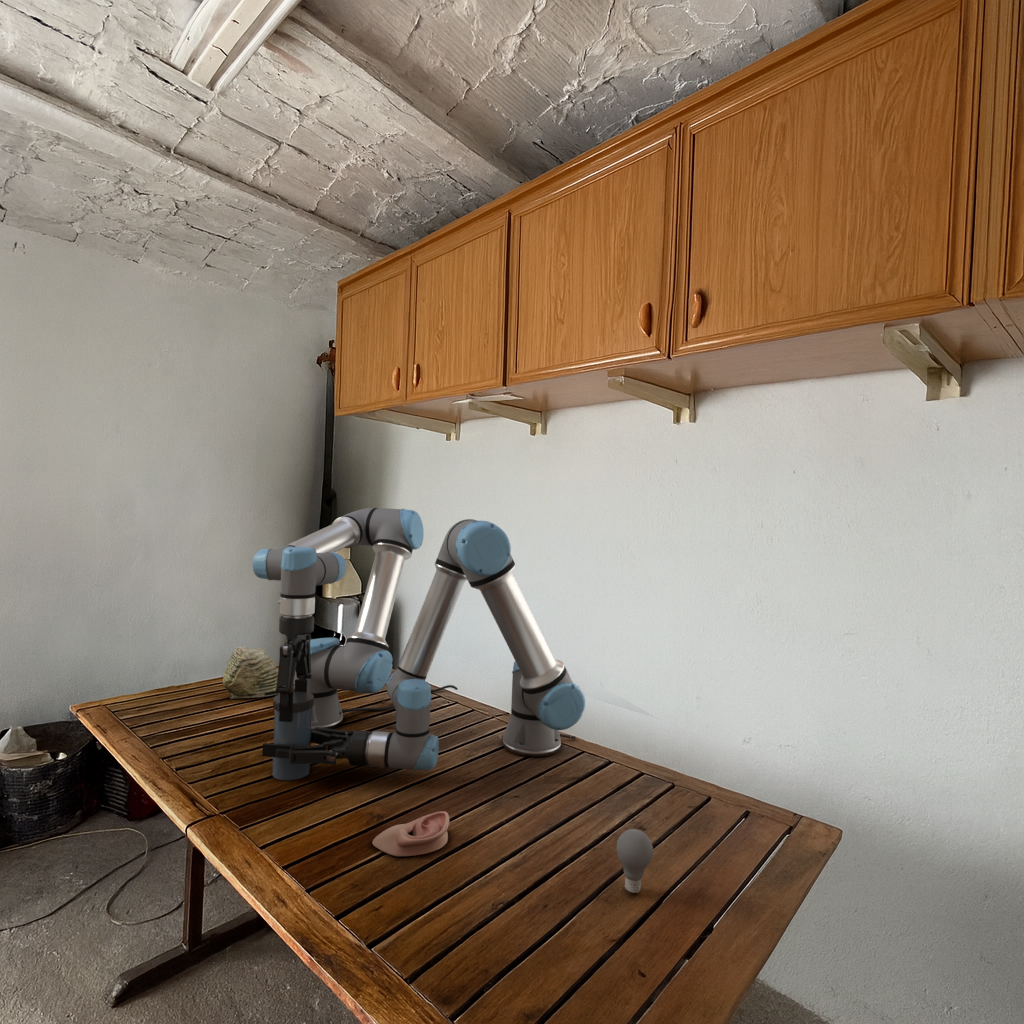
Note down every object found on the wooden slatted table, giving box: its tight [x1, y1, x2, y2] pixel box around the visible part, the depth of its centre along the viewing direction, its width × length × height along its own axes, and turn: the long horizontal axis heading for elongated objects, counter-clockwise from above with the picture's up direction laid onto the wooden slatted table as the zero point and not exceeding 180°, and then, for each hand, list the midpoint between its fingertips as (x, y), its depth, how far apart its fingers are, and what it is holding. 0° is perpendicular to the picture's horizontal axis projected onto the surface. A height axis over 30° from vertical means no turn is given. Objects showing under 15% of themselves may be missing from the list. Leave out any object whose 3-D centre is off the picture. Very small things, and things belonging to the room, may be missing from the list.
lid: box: [272, 691, 314, 712], centre depth 144 cm, size 9×9×2 cm
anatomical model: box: [372, 810, 450, 857], centre depth 118 cm, size 13×4×12 cm
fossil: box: [222, 646, 285, 699], centre depth 198 cm, size 9×18×15 cm, turn 132°
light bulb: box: [615, 828, 654, 894], centre depth 106 cm, size 6×6×10 cm
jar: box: [271, 708, 312, 781], centre depth 144 cm, size 8×8×17 cm
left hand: (293, 713), depth 144 cm, fingers closed on lid, 9 cm apart
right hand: (271, 742), depth 145 cm, fingers closed on jar, 8 cm apart
